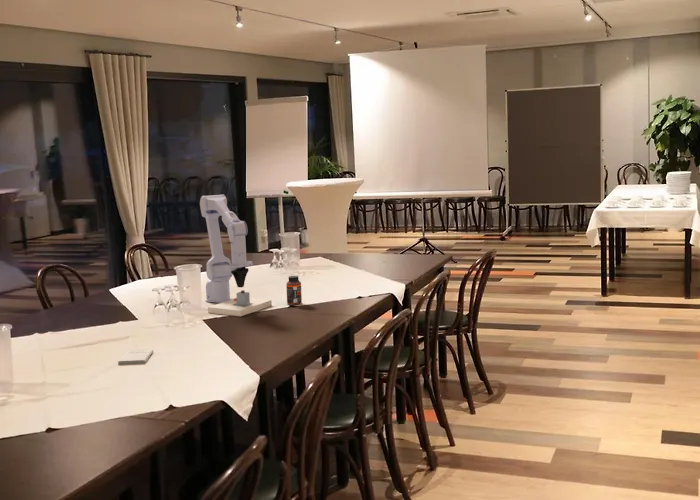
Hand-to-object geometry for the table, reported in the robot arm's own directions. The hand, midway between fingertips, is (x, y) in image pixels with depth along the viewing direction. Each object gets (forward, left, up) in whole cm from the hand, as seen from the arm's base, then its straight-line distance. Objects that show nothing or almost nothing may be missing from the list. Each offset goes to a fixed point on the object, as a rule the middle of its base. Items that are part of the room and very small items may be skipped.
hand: (240, 287), depth 303 cm
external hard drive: (+11, -67, -10) cm, 68 cm away
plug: (+1, 0, -9) cm, 9 cm away
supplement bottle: (+13, +17, -9) cm, 24 cm away
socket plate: (-2, +1, -9) cm, 9 cm away
